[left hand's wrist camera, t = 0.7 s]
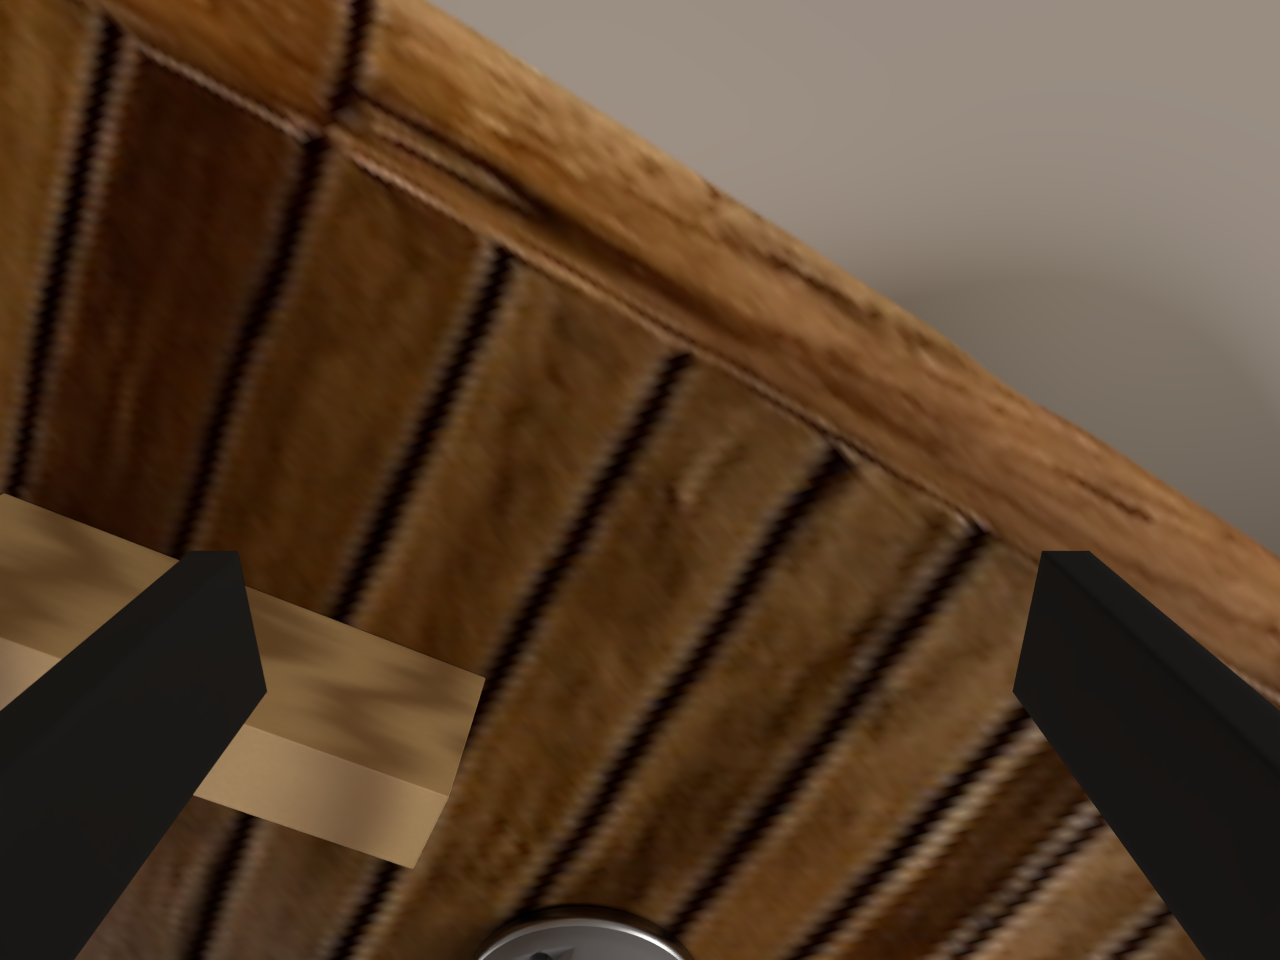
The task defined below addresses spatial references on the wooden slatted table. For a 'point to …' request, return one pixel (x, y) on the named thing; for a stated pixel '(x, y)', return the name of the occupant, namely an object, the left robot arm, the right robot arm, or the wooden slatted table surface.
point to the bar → (290, 710)
